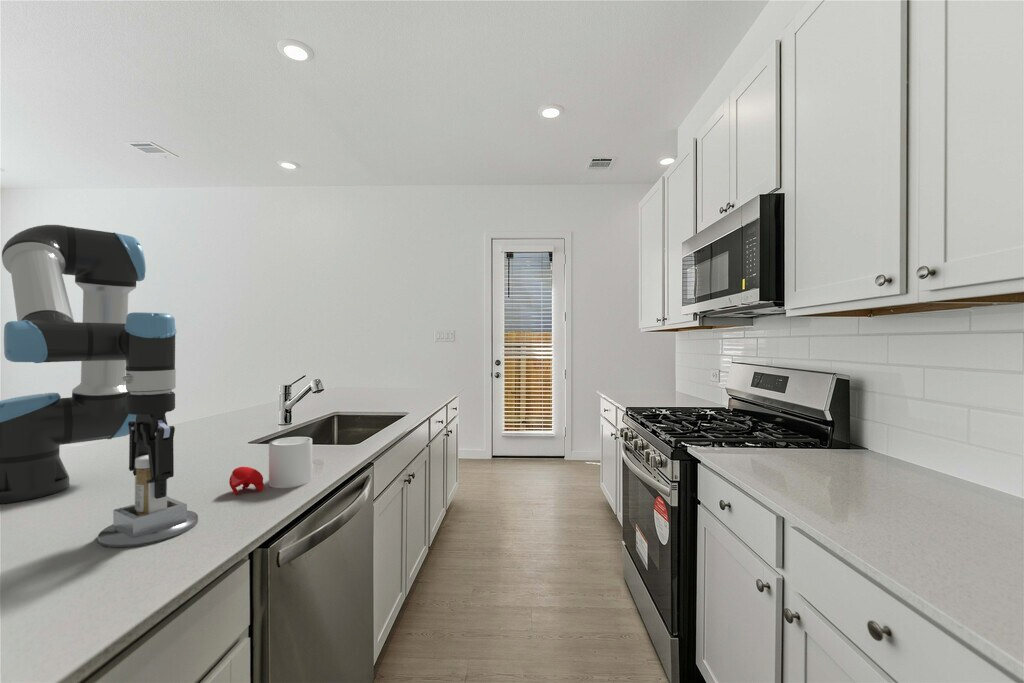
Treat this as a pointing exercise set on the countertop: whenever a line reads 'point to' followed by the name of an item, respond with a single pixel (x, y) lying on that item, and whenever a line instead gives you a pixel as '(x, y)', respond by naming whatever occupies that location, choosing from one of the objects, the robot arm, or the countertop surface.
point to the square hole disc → (147, 525)
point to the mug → (290, 462)
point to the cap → (246, 479)
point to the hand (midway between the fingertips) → (150, 510)
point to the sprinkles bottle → (142, 484)
